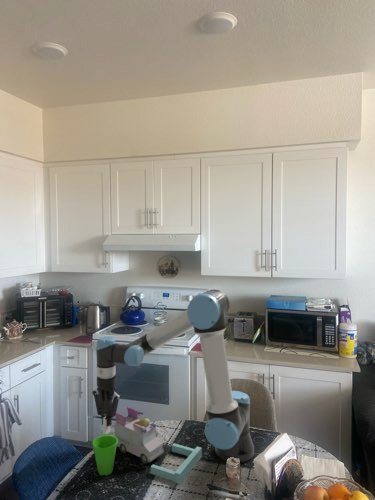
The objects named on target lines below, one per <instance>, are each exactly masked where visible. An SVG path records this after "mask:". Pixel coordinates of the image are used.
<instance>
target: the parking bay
mask: <svg viewBox="0 0 375 500" xmlns="http://www.w3.org/2000/svg"><path fill="white" fill-rule="evenodd" d="M202 448H203V447H200V446H196V447H195V448H191V447H189V446H185V445H181V444H178V443H172V445H171V452H173V453H177V454H180V455H183V456H186V457H187V458H185V460H184V461H183V462H182V463H181V465H179V467H178V468H177V469H176V470H175V471H174V470H172V469H169V468H166V467H164V466H163V467H162V466H159V465H156V464H152V465H151V466H150V474H151V475H154V476H157V477H160V478H163V479H166V480H168V481H173V482H174V483H175V484H178V485H180V484H182V482H183V481H184V479H185V478H186V477H187V476H188V475H189V474H190V472H191V471H192V470H193V469H194V467H195V466H196V464H197V463H199V461H200V459H202V457H203V449H202Z"/></svg>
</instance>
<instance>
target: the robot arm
mask: <svg viewBox="0 0 375 500" xmlns="http://www.w3.org/2000/svg"><path fill="white" fill-rule="evenodd" d="M230 304H231V303H230V299H229V297H228V296H227V294H226V293H225V292H223V291H221V290H220V289H214V288H213V289H208V290H207V291H203V292H202V293H198V294H197V295H195V297H193V298H192V299H191V300H190V302H189V303H188V305H187V308H186V310H185V311H183V312H181V313H180V314H177V315H175V316H174V317H172V318H170V319H169V320H167V321H165V322H163V324H161V325H159V326H157V327H155V328H154V329H152V330H151V331H149V332H147V333H145V334H144V335H142V336H140V337H139V338H137V339H135V340H133V341H131V342H129V343H127V344H122V343H120V344H119V343H117V342H116V341H117V340H116V338H115V337H113V336H101V337H99V338H97V340H96V349H95V350H96V389H94V390H92V392H91V393H92V396H93V397H94V403H95V407H96V412H97V415H98V416H100V418H101V425H102V433H103V435H109V434H110V433H111V426H112V423H113V422H112V419H113V418H114V417H116V413H117V410H118V407H119V406H118V405H119V400H120V399H121V397H122V395H121V394H120V393H119V394H118V393H117V390H116V385H117V379H116V374H117V370H116V369H117V368H116V364H118V365H124V366H130V367H133V366H134V367H138V366H140V365H141V364H142V363H143V361H144V358H145V356H147V355H149V354H150V353H152V352H153V351H155V350H156V349H158V348H160V347H162V346H163V345H165V344H167V343H169V342H171V341H173V340H175V339H176V338H178V337H179V336H180V337H181V335H183V334H185V333H187V332H188V331H191V330H192V329H193V332H194V334H196V335H197V336H198V337H199V342H200V348H201V349H200V350H201V357H202V362H203V368H204V375H205V376H204V377H205V382H206V383H205V384H206V389H207V395H208V400H209V401H208V403H207V405H206V407H205V411H206V417H207V421H206V423H205V427H204V435H205V437H206V440H207V441H208V443H209V444H210V445H212V446H213V447H214V451H215V454H216V455H217V456H218V457H219V458H220V459H221V460H223V461H226V460H227V459H228V458H230V457H234V458H239V459H240V461H241V462H240V463H244V462H247V461H249V460H251V459H252V458H253V457H254V455H255V446H254V442H253V439H252V436H251V432H250V417H251V415H250V414H251V413H250V412H251V411H250V408H251V407H250V406H251V402H250V401H251V400H250V396H249V395H248V394H247V393H244V392H242V391H238V390H232V389H233V388H232V385H231V377H230V370H229V365H228V358H227V350H226V344H225V338H224V332H225V331H226V329H227V322H226V316H227V314H228V312H229V310H230V307H231V305H230Z"/></svg>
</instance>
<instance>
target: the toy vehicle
mask: <svg viewBox="0 0 375 500" xmlns="http://www.w3.org/2000/svg"><path fill="white" fill-rule="evenodd" d="M126 410H127V413H128V415H123V414H121V413H118V412H116V415H115V422H114V436H115V437H117V439H118V443H117V446H116V447H118V450H119V451H120V452H121V453H123V454H126V453H128V452H129V454H132V455H135V456H136V457H139V458H140V460H141V462H142V463H143V464H144V465H145V464H146V465H147V464H148V463H151V462H153V461H154V460H155V459H157V458H158V457H160V456H161V455H163V454H164V452H165V450H164V443H163V441H161V440H160V438H159V437H158V436H159V435H158V432H159V431H157V428H156V427H157V424H156V423H154V424H153V423H151V420H150V419H149V418H147V417H145V418H143V419H139V410H137V409H135V408H132V407H129V406H127V407H126Z"/></svg>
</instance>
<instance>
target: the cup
mask: <svg viewBox="0 0 375 500" xmlns="http://www.w3.org/2000/svg"><path fill="white" fill-rule="evenodd" d="M117 443H118V439H117V437H115V435H113V434H107V435H105V434H103V435H100V436H97V437H95V438H94V439H93V440H92V443H91V445H92V446H93V452H94V456H95V463H96V468H97V473H98V474H99V475H100V476H103V475H105V476H109V475H110V474H112V473H113V471H114V466H115V465H114V464H115V458H116V451H117V447H118V446H117Z"/></svg>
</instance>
